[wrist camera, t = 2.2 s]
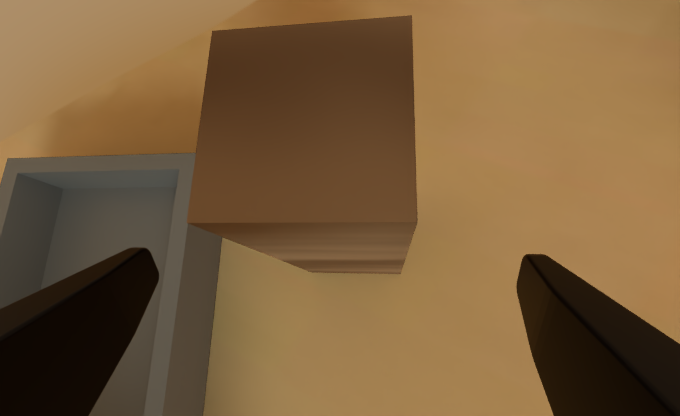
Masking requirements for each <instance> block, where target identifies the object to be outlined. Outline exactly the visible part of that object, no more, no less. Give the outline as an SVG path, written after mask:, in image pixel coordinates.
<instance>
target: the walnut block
mask: <svg viewBox="0 0 680 416" xmlns="http://www.w3.org/2000/svg"><path fill="white" fill-rule="evenodd" d="M186 223H188V224H191V225H193V226H196V227H198V228H201V229H203V230H206V231H208V232H211V233H213V234H216V235H218V236H221V237H224V238H226V239H229V240H231V241H234V242H236V243H239V244H241V245H244V246H246V247H249V248H251V249H254V250H256V251H259V252H262V253H264V254H267V255H269V256H272V257H274V258H277V259H279V260H282V261H284V262H287V263H289V264H292V265H294V266H297V267H300V268H302V269H305V270H307V271H310V272H323V273H384V274H401V270H402V267H403V264H404V261H405V258H406V255H407V252H408V249H409V246H410V243H411V240H412V237H413V234H414V231H415V228H416V225H417V192H416V155H415V117H414V80H413V43H412V16H399V17H386V18H373V19H360V20H347V21H335V22H322V23H309V24H296V25H283V26H270V27H257V28H245V29H232V30H219V31H212V36H211V44H210V51H209V59H208V66H207V74H206V81H205V89H204V96H203V103H202V111H201V118H200V126H199V133H198V141H197V148H196V155H195V163H194V170H193V178H192V185H191V193H190V200H189V208H188V215H187V222H186Z"/></svg>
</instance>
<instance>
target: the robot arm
mask: <svg viewBox="0 0 680 416" xmlns="http://www.w3.org/2000/svg"><path fill="white" fill-rule="evenodd" d="M158 281H159V271H158V269H157V266H156V264H155V261H154V259H153V257H152V254H151V252H150V251H149V250H148V249H147V248H144V247H131V248H128V249H126V250H124V251H122V252H119V253H117V254H115V255H113V256H111V257H109V258H107V259H105V260H103V261H100V262H98V263H96V264H94V265H92V266H90V267H88V268H86V269H84V270H81V271H79V272H77V273H75V274H73V275H71V276H69V277H67V278H65V279H62V280H60V281H58V282H56V283H54V284H52V285H50V286H48V287H46V288H43V289H41V290H39V291H37V292H35V293H33V294H31V295H29V296H27V297H24V298H22V299H20V300H18V301H16V302H14V303H12V304H10V305H7V306H5V307H3V308H1V309H0V416H89V415H90V413H91V411H92V409H93V408H94V406H95V404H96V402H97V401H98V399H99V397H100V395H101V393H102V392H103V390H104V388H105V386H106V385H107V383H108V381H109V379H110V378H111V376H112V374H113V372H114V371H115V369H116V367H117V365H118V364H119V362H120V360H121V358H122V357H123V355H124V353H125V351H126V349H127V348H128V346H129V344H130V342H131V340H132V339H133V337H134V335H135V333H136V331H137V329H138V327H139V324H140V322H141V320H142V318H143V315H144V313H145V311H146V309H147V306H148V304H149V302H150V300H151V297H152V295H153V293H154V291H155V288H156V286H157V284H158ZM517 294H518V299H519V303H520V307H521V311H522V315H523V320H524V324H525V328H526V332H527V337H528V341H529V345H530V349H531V353H532V356H533V359H534V362H535V365H536V368H537V371H538V374H539V376H540V379H541V382H542V385H543V387H544V390H545V393H546V395H547V398H548V401H549V404H550V406H551V409H552V412H553V415H554V416H680V344H679V343H677V342H676V341H674V340H673V339H671V338H670V337H668V336H667V335H665V334H664V333H662V332H661V331H659V330H658V329H656V328H655V327H653V326H652V325H650V324H649V323H647V322H646V321H644V320H643V319H641V318H640V317H638V316H637V315H635V314H634V313H632V312H631V311H629V310H628V309H626V308H625V307H623V306H622V305H620V304H619V303H617V302H616V301H614V300H613V299H611V298H610V297H608V296H607V295H605V294H604V293H602V292H601V291H599V290H598V289H596V288H595V287H593V286H592V285H590V284H589V283H587V282H586V281H584V280H583V279H581V278H580V277H578V276H577V275H575V274H574V273H572V272H571V271H569V270H568V269H566V268H565V267H563V266H562V265H560V264H559V263H557V262H556V261H554V260H553V259H551V258H550V257H548V256H546V255H543V254H526V255H525V256H524V257H523V259H522V262H521V267H520V271H519V275H518V280H517Z"/></svg>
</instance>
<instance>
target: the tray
mask: <svg viewBox="0 0 680 416" xmlns="http://www.w3.org/2000/svg"><path fill="white" fill-rule="evenodd" d="M195 155H196V153H175V154H141V155H108V156H74V157H41V158H8V159H7V162H6V166H5V170H4V173H3V177H2V181H1V184H0V309H1V308H3V307H5V306H7V305H10V304H12V303H14V302H16V301H18V300H20V299H22V298H24V297H27V296H29V295H31V294H33V293H35V292H37V291H39V290H41V289H43V288H46V287H48V286H50V285H52V284H54V283H56V282H58V281H60V280H62V279H65V278H67V277H69V276H71V275H73V274H75V273H77V272H79V271H81V270H84V269H86V268H88V267H90V266H92V265H94V264H96V263H98V262H100V261H103V260H105V259H107V258H109V257H111V256H113V255H115V254H117V253H119V252H122V251H124V250H126V249H128V248H131V247H144V248H147V249H148V250H149V251H150V252H151V254H152V257H153V259H154V261H155V264H156V266H157V269H158V271H159V281H158V284H157V286H156V288H155V291H154V293H153V295H152V297H151V300H150V302H149V304H148V306H147V309H146V311H145V313H144V315H143V318H142V320H141V322H140V324H139V327H138V329H137V331H136V333H135V335H134V337H133V339H132V340H131V342H130V344H129V346H128V348H127V349H126V351H125V353H124V355H123V357H122V358H121V360H120V362H119V364H118V365H117V367H116V369H115V371H114V372H113V374H112V376H111V378H110V379H109V381H108V383H107V385H106V386H105V388H104V390H103V392H102V393H101V395H100V397H99V399H98V401H97V402H96V404H95V406H94V408H93V409H92V411H91V413H90V415H89V416H203V409H204V399H205V390H206V381H207V372H208V362H209V353H210V344H211V335H212V326H213V316H214V307H215V298H216V289H217V280H218V270H219V261H220V252H221V243H222V237H221V236H218V235H216V234H213V233H211V232H208V231H206V230H203V229H201V228H198V227H196V226H193V225H191V224H188V223H186V222H187V215H188V208H189V200H190V193H191V185H192V178H193V170H194V163H195Z"/></svg>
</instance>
